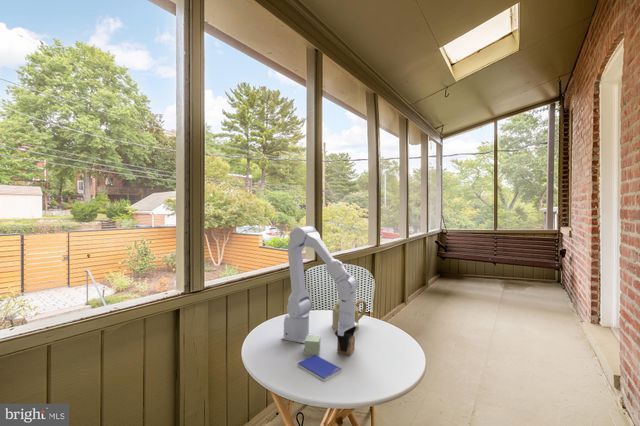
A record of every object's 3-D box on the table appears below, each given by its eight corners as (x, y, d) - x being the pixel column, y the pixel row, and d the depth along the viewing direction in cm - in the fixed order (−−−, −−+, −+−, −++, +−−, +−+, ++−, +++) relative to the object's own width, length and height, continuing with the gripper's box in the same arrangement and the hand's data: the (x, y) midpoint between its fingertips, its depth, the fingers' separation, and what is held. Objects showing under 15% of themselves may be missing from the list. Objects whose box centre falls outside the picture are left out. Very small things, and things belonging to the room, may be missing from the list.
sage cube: (304, 354, 113) (304, 340, 113) (306, 348, 118) (307, 334, 118) (318, 355, 112) (318, 341, 112) (320, 348, 117) (320, 335, 117)
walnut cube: (337, 353, 114) (337, 339, 114) (341, 346, 119) (341, 333, 119) (350, 355, 113) (351, 341, 112) (354, 349, 117) (354, 336, 117)
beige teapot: (346, 317, 148) (346, 285, 147) (367, 323, 141) (368, 290, 140) (327, 328, 136) (327, 293, 135) (349, 335, 129) (350, 298, 128)
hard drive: (342, 368, 103) (315, 354, 111) (324, 378, 97) (297, 362, 106) (342, 372, 103) (315, 358, 112) (324, 383, 97) (297, 367, 106)
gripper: (352, 319, 107) (351, 359, 108) (362, 305, 120) (361, 341, 121) (332, 316, 109) (331, 354, 110) (344, 303, 123) (344, 337, 124)
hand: (346, 347), depth 116 cm, fingers closed on walnut cube, 5 cm apart
